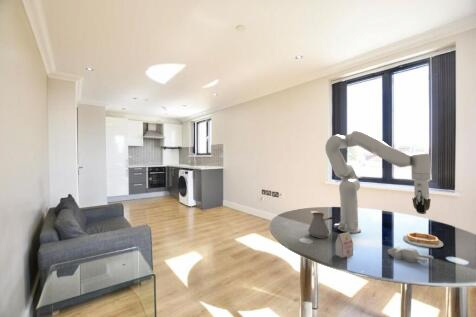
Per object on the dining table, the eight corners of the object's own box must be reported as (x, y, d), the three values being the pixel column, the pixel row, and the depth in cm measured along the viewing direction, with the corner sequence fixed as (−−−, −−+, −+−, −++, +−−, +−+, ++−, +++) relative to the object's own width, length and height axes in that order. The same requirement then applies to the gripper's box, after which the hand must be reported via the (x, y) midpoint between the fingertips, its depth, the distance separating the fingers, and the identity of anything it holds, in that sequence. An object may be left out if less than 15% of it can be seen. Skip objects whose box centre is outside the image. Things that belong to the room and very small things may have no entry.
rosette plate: (425, 249, 106) (425, 243, 106) (395, 238, 122) (395, 232, 122) (452, 246, 109) (451, 240, 109) (419, 235, 125) (419, 230, 125)
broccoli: (426, 216, 111) (426, 200, 111) (409, 213, 117) (409, 197, 117) (433, 214, 114) (433, 198, 114) (416, 211, 121) (416, 196, 121)
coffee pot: (303, 234, 130) (303, 209, 130) (318, 231, 136) (317, 207, 136) (334, 247, 111) (333, 217, 111) (349, 242, 116) (349, 214, 117)
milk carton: (335, 254, 102) (335, 233, 102) (346, 252, 105) (345, 231, 105) (342, 257, 99) (341, 235, 99) (353, 255, 102) (352, 233, 102)
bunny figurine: (395, 243, 105) (434, 250, 92) (396, 254, 104) (436, 263, 91) (383, 247, 100) (423, 255, 87) (385, 259, 100) (425, 269, 86)
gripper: (427, 178, 107) (428, 215, 107) (432, 176, 119) (433, 209, 119) (408, 177, 113) (409, 212, 113) (414, 175, 125) (415, 207, 125)
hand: (421, 210), depth 116 cm, fingers closed on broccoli, 6 cm apart
